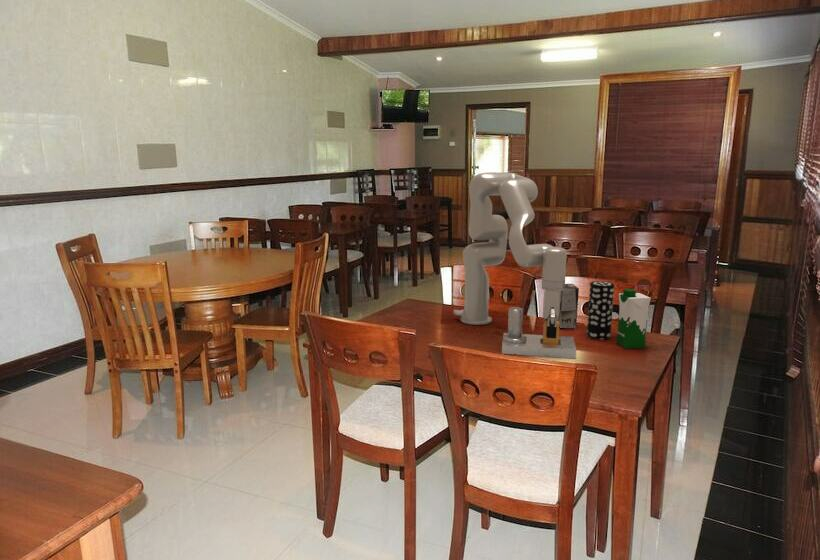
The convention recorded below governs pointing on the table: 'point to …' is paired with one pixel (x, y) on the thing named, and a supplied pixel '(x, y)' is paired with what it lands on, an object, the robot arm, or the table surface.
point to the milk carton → (632, 319)
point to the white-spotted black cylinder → (600, 310)
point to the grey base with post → (533, 340)
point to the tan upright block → (550, 340)
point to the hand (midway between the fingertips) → (550, 333)
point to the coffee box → (568, 307)
